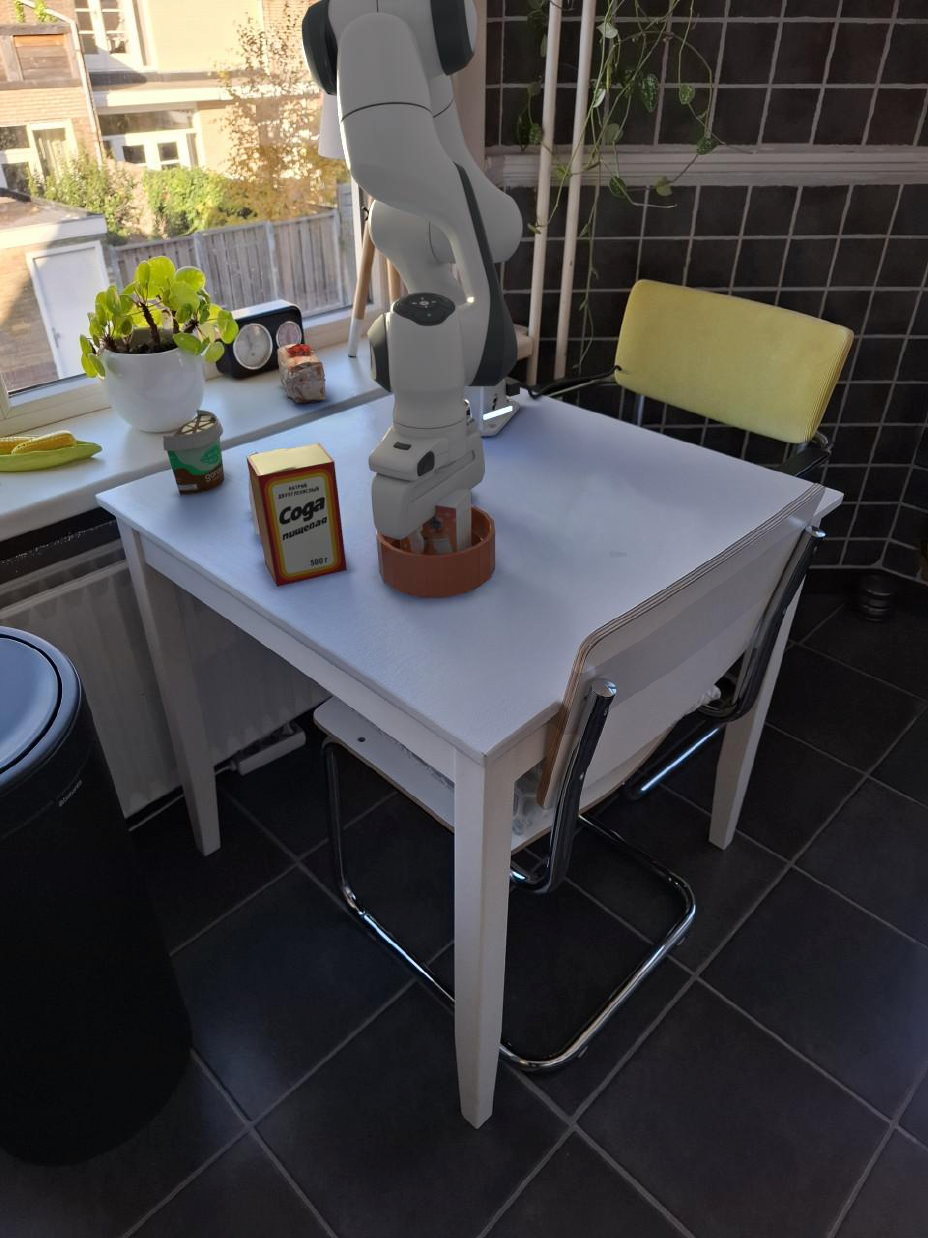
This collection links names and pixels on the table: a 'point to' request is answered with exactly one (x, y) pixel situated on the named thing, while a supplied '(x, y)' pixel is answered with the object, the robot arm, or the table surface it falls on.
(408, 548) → the small box
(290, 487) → the baking soda box
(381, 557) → the bowl
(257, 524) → the shaker set
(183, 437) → the food container
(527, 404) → the table surface
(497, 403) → the robot arm
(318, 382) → the food item
